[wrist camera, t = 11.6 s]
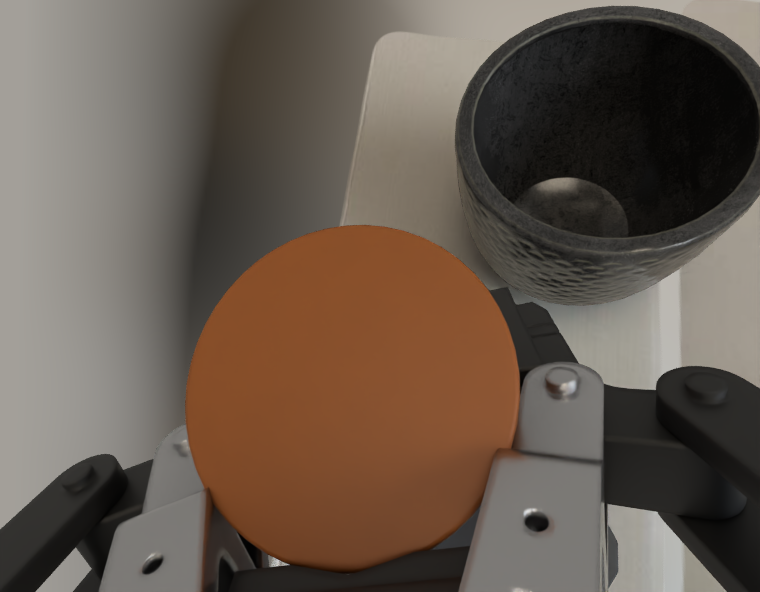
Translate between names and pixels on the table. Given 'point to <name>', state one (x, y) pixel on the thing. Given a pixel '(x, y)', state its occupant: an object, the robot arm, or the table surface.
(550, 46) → the planter
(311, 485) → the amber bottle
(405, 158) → the table surface
